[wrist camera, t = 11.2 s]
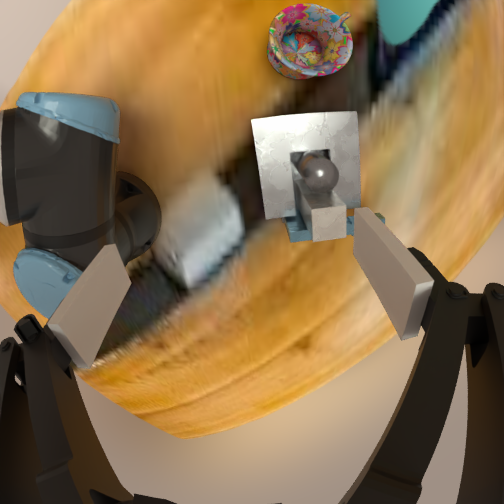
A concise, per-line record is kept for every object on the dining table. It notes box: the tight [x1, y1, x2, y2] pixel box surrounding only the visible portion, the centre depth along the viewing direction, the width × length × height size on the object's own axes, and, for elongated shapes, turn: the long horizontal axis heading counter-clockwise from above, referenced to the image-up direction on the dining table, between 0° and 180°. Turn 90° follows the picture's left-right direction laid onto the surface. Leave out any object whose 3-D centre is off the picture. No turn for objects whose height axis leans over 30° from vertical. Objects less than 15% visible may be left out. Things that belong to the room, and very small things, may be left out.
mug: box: [267, 4, 353, 79], centre depth 27 cm, size 12×9×11 cm
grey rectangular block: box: [294, 179, 346, 242], centre depth 36 cm, size 4×4×12 cm
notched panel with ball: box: [251, 111, 385, 243], centre depth 36 cm, size 16×16×11 cm
